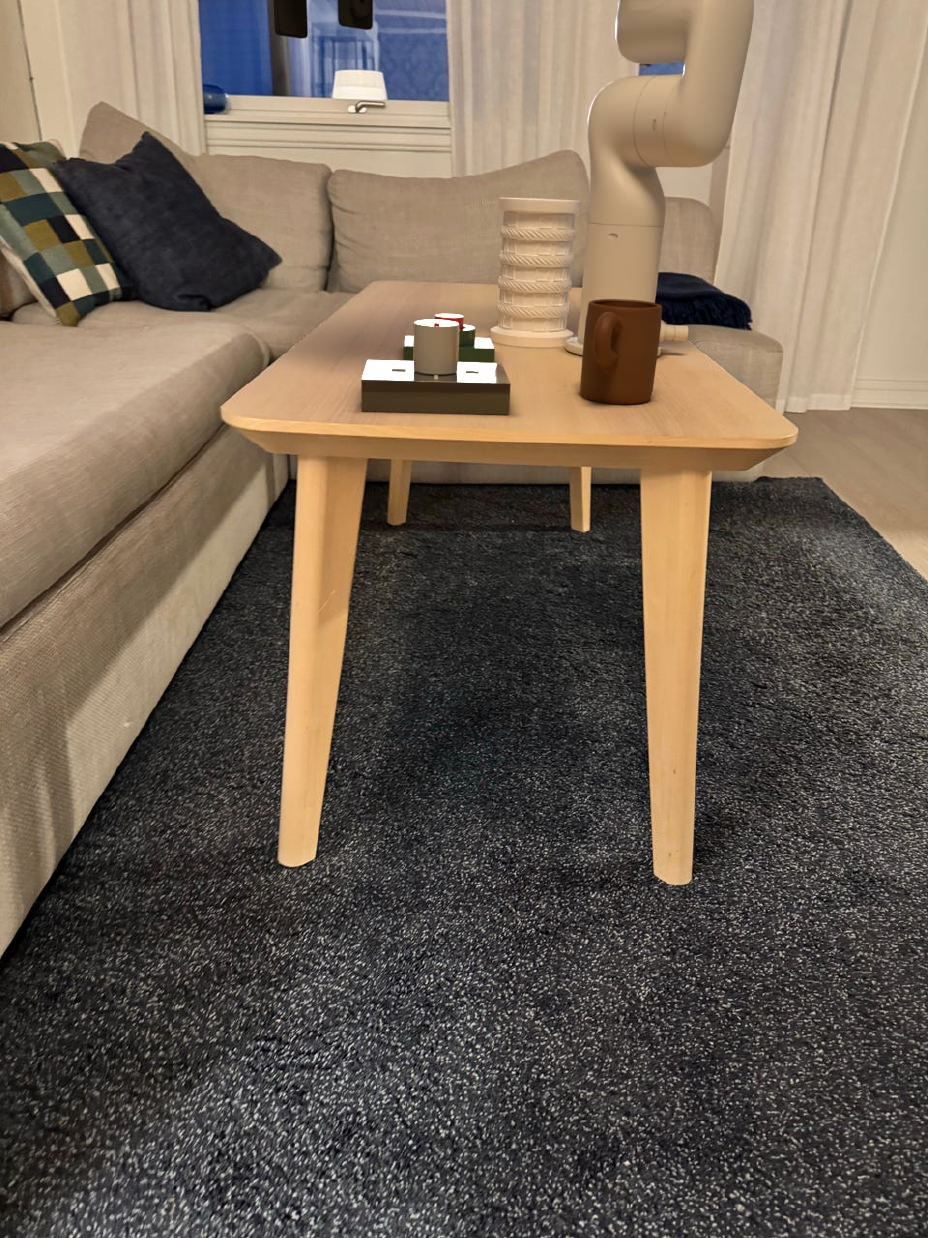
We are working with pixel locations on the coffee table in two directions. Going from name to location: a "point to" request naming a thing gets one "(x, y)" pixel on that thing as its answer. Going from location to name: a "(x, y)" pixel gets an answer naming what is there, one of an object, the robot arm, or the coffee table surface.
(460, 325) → the power button
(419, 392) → the hob
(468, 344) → the power box
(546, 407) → the coffee table surface
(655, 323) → the mug
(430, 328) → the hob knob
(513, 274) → the decorative container
